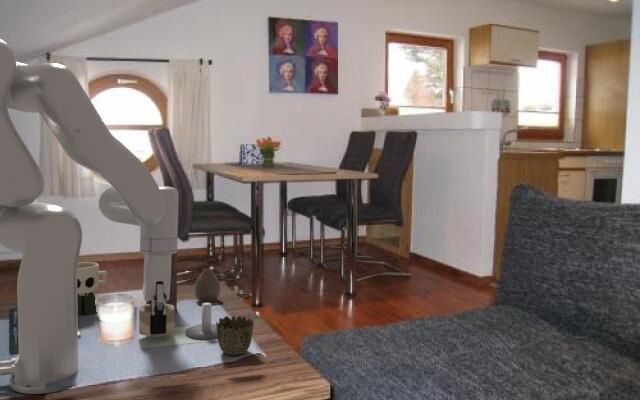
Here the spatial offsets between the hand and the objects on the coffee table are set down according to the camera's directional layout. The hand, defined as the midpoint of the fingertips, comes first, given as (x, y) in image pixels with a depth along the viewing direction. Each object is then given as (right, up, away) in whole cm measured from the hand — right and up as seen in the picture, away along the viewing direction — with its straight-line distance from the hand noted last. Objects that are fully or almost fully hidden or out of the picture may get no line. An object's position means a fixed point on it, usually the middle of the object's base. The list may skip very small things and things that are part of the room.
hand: (156, 327), depth 117 cm
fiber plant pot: (+18, -5, -6) cm, 19 cm away
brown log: (-4, -2, +19) cm, 20 cm away
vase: (+4, -1, +34) cm, 34 cm away
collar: (0, -1, 0) cm, 1 cm away
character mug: (-23, -2, +17) cm, 28 cm away
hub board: (+5, -4, +3) cm, 7 cm away
